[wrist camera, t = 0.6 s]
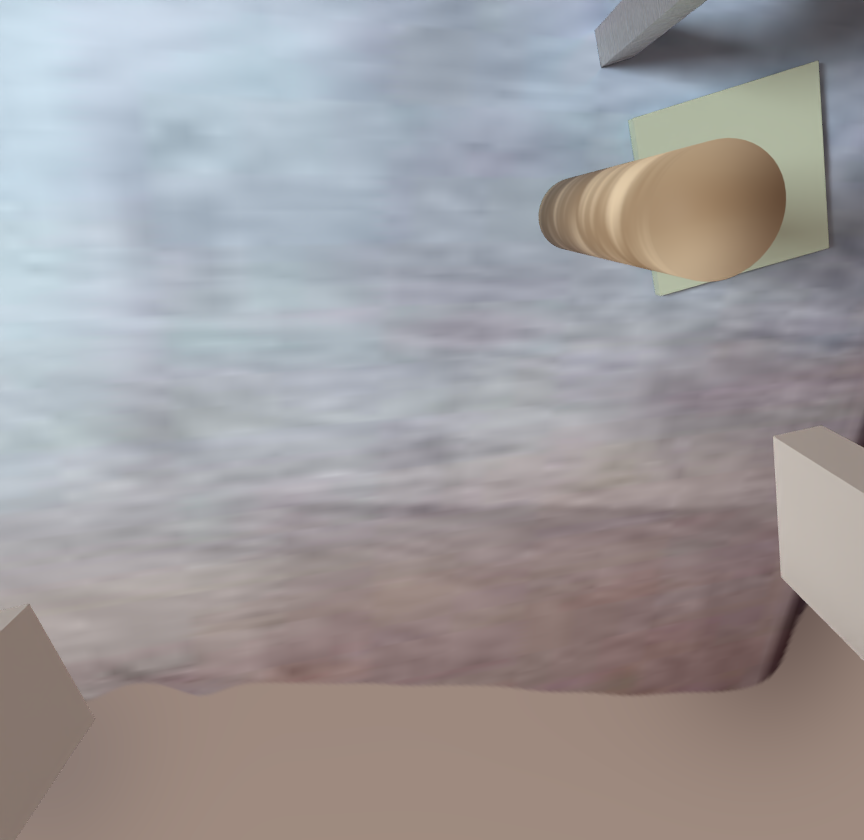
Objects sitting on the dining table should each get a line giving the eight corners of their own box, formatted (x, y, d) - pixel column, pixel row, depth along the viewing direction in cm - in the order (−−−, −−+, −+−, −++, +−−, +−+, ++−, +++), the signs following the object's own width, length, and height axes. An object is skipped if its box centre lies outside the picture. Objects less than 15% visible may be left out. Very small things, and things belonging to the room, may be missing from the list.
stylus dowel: (531, 189, 34) (639, 162, 17) (599, 168, 33) (780, 118, 16) (546, 257, 35) (660, 297, 18) (612, 238, 35) (791, 260, 18)
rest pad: (628, 120, 32) (633, 118, 32) (809, 64, 32) (818, 60, 31) (655, 294, 36) (660, 295, 35) (820, 247, 35) (829, 247, 34)
